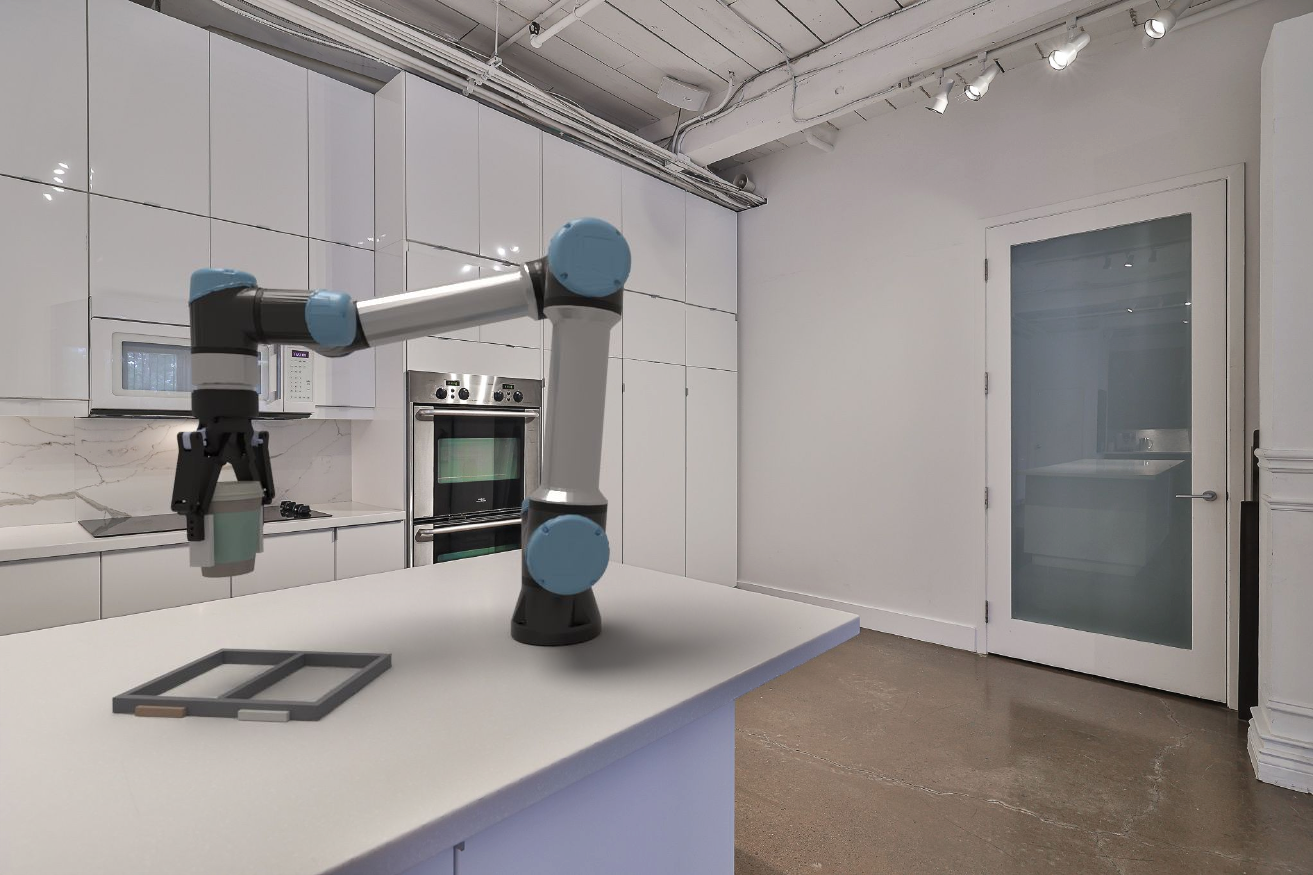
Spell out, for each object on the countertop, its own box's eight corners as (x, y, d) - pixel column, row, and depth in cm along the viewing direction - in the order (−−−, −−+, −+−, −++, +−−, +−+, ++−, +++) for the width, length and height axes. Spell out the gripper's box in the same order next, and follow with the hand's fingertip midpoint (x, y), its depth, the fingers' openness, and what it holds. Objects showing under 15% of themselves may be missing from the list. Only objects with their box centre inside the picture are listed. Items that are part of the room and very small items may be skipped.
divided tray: (391, 666, 96) (391, 653, 96) (314, 722, 77) (314, 707, 77) (222, 660, 98) (221, 648, 98) (108, 714, 80) (107, 699, 80)
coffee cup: (280, 568, 91) (279, 481, 91) (221, 582, 83) (219, 486, 83) (234, 564, 94) (233, 479, 94) (173, 577, 86) (171, 485, 86)
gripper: (254, 393, 99) (257, 544, 99) (128, 384, 78) (132, 576, 78) (302, 392, 98) (304, 544, 99) (188, 383, 77) (192, 577, 77)
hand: (228, 558), depth 88 cm, fingers closed on coffee cup, 8 cm apart
